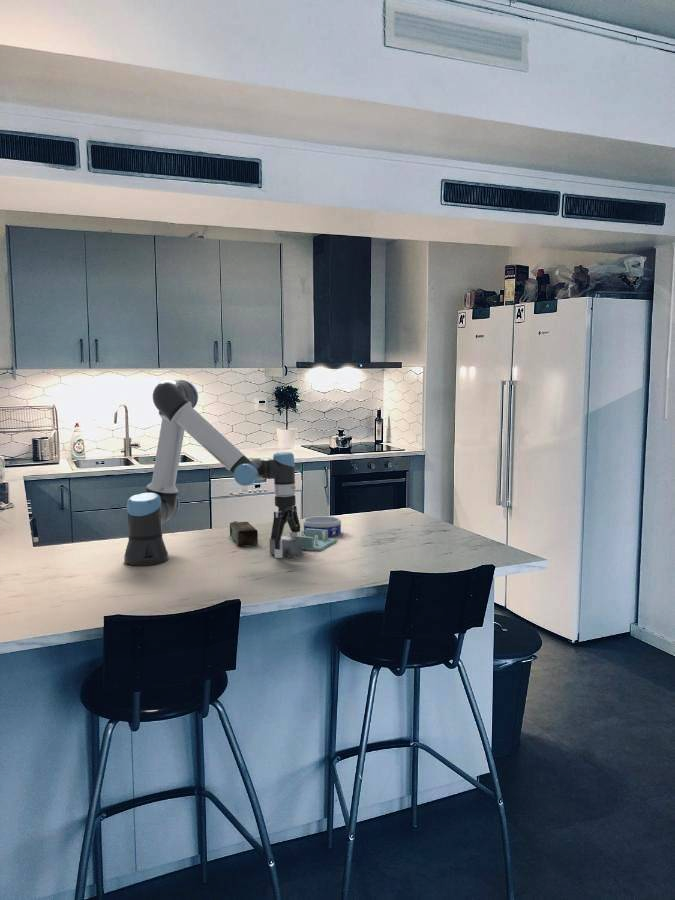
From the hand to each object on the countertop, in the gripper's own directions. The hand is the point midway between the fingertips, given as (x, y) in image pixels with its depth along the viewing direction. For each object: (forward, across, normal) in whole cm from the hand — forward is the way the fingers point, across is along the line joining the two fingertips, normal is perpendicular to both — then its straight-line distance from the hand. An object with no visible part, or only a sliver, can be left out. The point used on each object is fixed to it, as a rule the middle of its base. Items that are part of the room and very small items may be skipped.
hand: (286, 553), depth 264 cm
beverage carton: (+1, +14, +26) cm, 29 cm away
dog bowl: (+1, +35, +1) cm, 35 cm away
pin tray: (0, +16, -2) cm, 16 cm away
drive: (0, 0, 0) cm, 0 cm away
